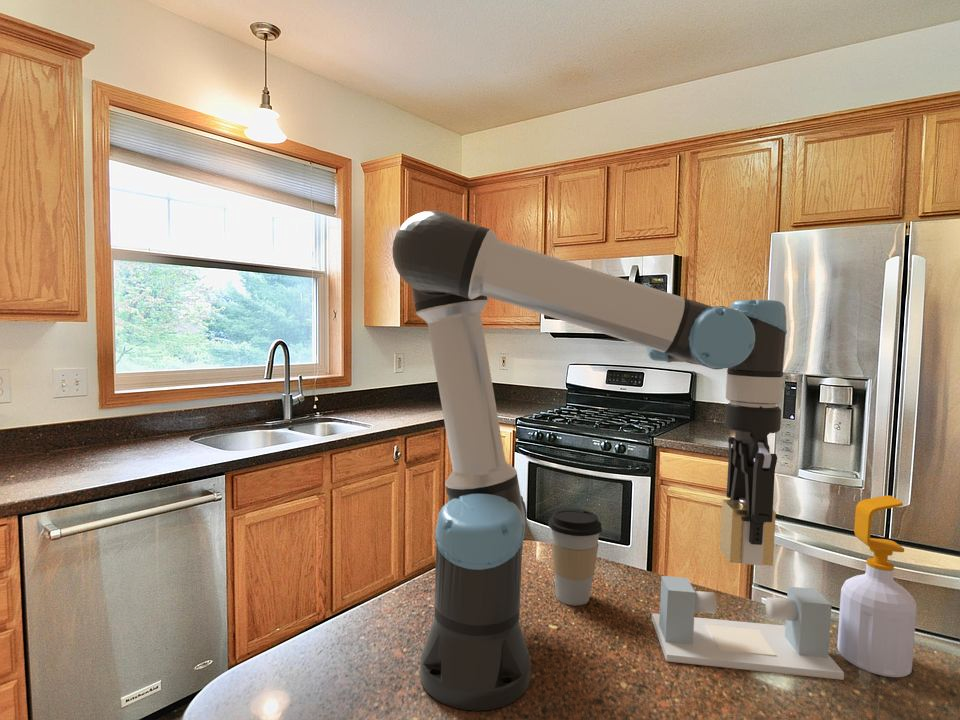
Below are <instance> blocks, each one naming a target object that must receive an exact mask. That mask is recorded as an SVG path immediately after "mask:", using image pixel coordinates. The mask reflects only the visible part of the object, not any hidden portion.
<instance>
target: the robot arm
mask: <svg viewBox="0 0 960 720" xmlns="http://www.w3.org/2000/svg"><path fill="white" fill-rule="evenodd" d="M391 253H392V259H393V263H394V267H395V269H396V271H397V273H398V274H399V276H400V277H401V279H403V282H405V283H406V284H407V285H409V286H410V287H411V292H412V297H413V304H414V309H415V314H416V315H417V316H418V317H419V318H420V319H422V320H423V321H424V322H425V323H426V324H427V327H428V334H429V338H430V339H429V340H430V345H431V352H432V358H433V364H434V369H435V375H436V381H437V386H438V393H439V399H440V404H441V409H442V416H443V421H444V427H445V433H446V434H445V435H446V440H447V444H448V445H447V446H448V452H449V457H450V463H451V469H452V472H451V473H450V474H449V476H448V477H447V479H446V480H445V482H444V485H445V490H446V496H447V501H448V502H446V503H445V504H444V505H443V506H442V507H441V509H440V511H439V512H438V515H437V522H436V524H435V525H436V526H435V530H434V536H435V537H434V538H435V543H436V544H435V575H434V576H435V579H434V580H435V581H434V583H435V585H434V613H433V614H434V615H433V616H434V617H433V620H432V624H431V626H430V629H429V631H428V635H427V637H426V641H425V643H424V646H423V649H422V650H421V651H422V652H421V654H420V655H421V656H420V659H419V679H420V682H421V685H422V687H423V688H424V690H425V691H426V692H427V694H428V695H430V697H432V698H433V699H435V700H436V701H438V702H440V703H441V704H444V705H446V706H448V707H451V708H455V709H458V710H459V709H460V710H465V711H488V710H489V711H490V710H495V709H498V708H502V707H505V706H508V705H510V704H512V703H514V702H515V701H516V700H518V699H520V698H521V697H522V696H523V695H524V694H525V692H526V691H527V690H528V688H529V685H530V683H531V668H532V667H531V658H530V653H529V649H528V645H527V643H526V640H525V635H524V632H523V629H522V625H521V621H520V609H521V586H522V585H521V584H522V583H521V582H522V561H523V548H524V539H525V531H526V527H527V520H528V514H527V507H526V503H525V500H524V497H523V496H522V494H521V489H520V485H519V484H520V483H519V478H518V471H517V469H516V468H515V467H514V466H512V465H511V464H510V463H508V462H507V461H506V457H505V451H504V445H503V439H502V432H501V427H500V421H499V414H498V409H497V404H496V398H495V391H494V386H493V381H492V374H491V369H490V363H489V357H488V351H487V345H486V338H485V334H484V333H485V332H484V327H483V326H484V325H483V321H482V313H483V311H484V310H485V308H486V307H487V305H488V303H489V299H488V298H490V299H493V300H496V301H499V302H502V303H506V304H509V305H512V306H515V307H519V308H522V309H524V310H527V311H532V312H533V313H538V314H540V315H543V316H547V317H550V318H553V319H556V320H560V321H563V322H565V323H569V324H571V325H575V326H577V327H581V328H585V329H588V330H591V331H593V332H598V333H600V334H604V335H607V336H610V337H613V338H617V339H619V340H622V341H626V342H630V343H631V344H632V343H633V344H635V345H638V346H641V347H644V348H646V352H647V356H648V357H649V359H650V360H653V361H655V362H656V361H658V362H666V363H674V362H675V363H676V362H677V363H679V362H680V363H687V364H692V365H699V366H702V367H706V368H709V369H712V370H723V369H726V370H727V371H726V385H725V399H726V400H727V401H729V402H727V404H726V405H725V411H724V413H725V414H724V426H725V427H726V428H728V429H729V430H731V431H736V433H735V436H728V439H727V441H728V463H727V464H728V465H727V477H726V478H727V480H726V481H727V482H726V494H725V495H726V497H727V498H728V499H729V500H739V498H746V515H747V516H746V517H742V516H741V519H742V521H743V540H742V559H741V562H742V563H741V564H743V565H752V566H764V565H763V547H764V528H765V523H766V522H772V519H773V518H772V517H773V510H774V495H775V494H774V493H775V492H774V491H775V476H776V475H775V472H776V468H777V462H778V456H777V454H776V453H771V451H770V450H771V449H770V445H769V440H768V439H769V437H768V435H769V434H775V433H776V434H777V433H778V432H779V431H780V430H781V425H782V421H781V420H782V408H780V407H779V406H778V405H779V404H780V403H782V397H783V389H785V388H786V383H785V382H783V379H784V365H785V364H784V362H785V361H784V360H785V352H786V337H787V336H786V335H787V333H788V330H787V309H786V306H785V304H784V303H783V302H781V301H779V300H773V299H771V300H770V299H741V300H740V299H739V300H735V301H733V302H732V303H731V304H730V307H728V306H724V305H721V306H720V305H719V306H713V305H708V304H706V303H702V302H698V301H695V300H692V299H688V298H685V297H682V296H680V295H677V294H673V293H670V292H667V291H663V290H661V289H658V288H654V287H651V286H648V285H644V284H641V283H638V282H635V281H631V280H628V279H625V278H621V277H618V276H615V275H611V274H608V273H606V272H603V271H599V270H596V269H592V268H589V267H587V266H583V265H580V264H577V263H573V262H570V261H566V260H564V259H560V258H556V257H555V256H551V255H548V254H545V253H544V254H543V253H542V252H538V251H534V250H531V249H528V248H525V247H521V246H519V245H515V244H512V243H509V242H506V241H502V240H499V238H498V236H497V234H496V233H495V230H493V229H490V228H487V227H485V226H481V225H478V224H475V223H473V222H470V221H467V220H465V219H462V218H459V217H457V216H455V215H453V214H451V213H448V212H444V211H440V210H425V211H424V210H423V211H422V212H418V213H416V214H414V215H412V216H410V217H409V218H407V219H406V220H405V221H404V222H403V223H402V224H401V226H399V229H398V230H397V231H396V234H395V236H394V239H393V243H392V251H391Z"/></svg>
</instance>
